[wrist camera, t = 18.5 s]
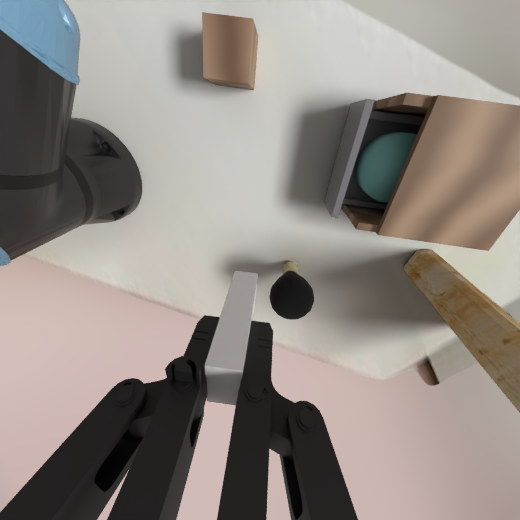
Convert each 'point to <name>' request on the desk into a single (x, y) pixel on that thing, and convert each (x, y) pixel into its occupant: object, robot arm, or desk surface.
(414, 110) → the box
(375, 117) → the tray
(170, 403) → the robot arm
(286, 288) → the light bulb
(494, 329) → the tan piece
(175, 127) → the desk surface
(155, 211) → the desk surface
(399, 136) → the teal rounded puck
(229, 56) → the block
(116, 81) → the desk surface
